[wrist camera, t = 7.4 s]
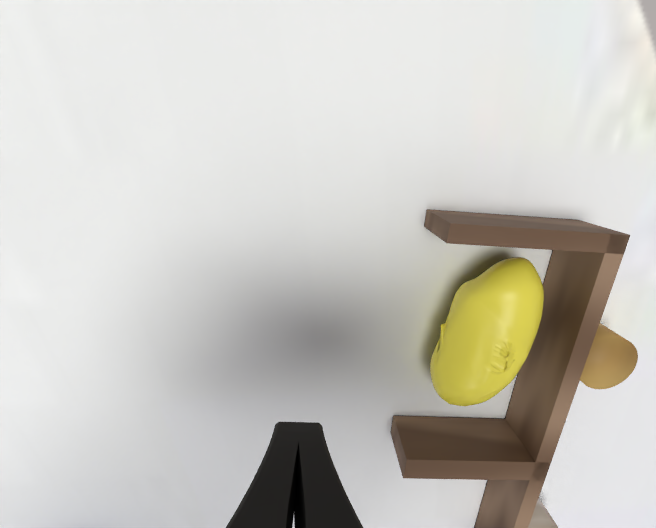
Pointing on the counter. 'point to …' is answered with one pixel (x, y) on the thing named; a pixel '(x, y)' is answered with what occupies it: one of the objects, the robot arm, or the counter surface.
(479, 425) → the brown open frame
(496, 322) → the yellow potato
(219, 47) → the counter surface
